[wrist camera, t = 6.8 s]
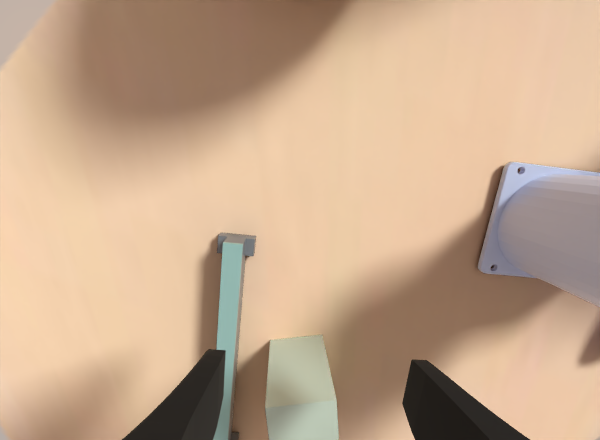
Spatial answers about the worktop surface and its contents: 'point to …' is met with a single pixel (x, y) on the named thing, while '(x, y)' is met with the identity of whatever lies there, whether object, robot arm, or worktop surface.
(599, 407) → the worktop surface
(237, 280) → the rail
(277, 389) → the soap box
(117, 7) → the worktop surface
